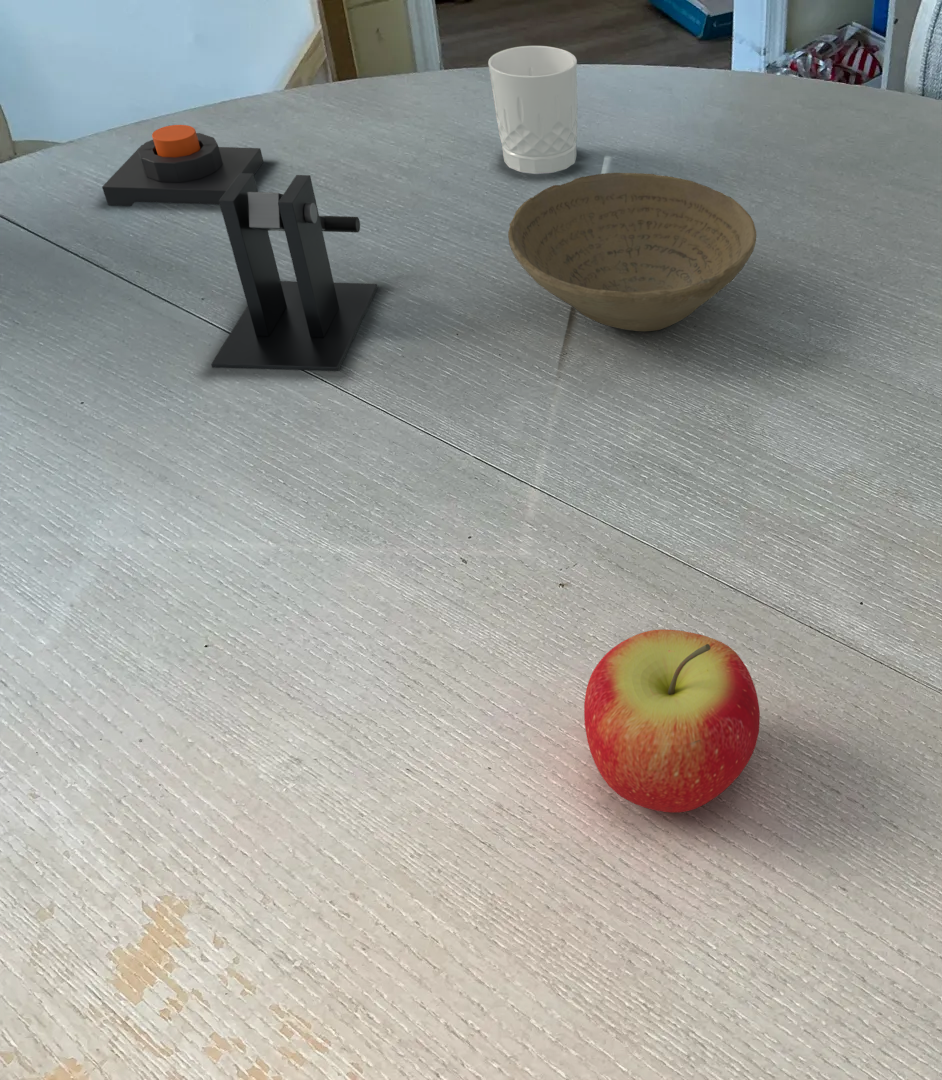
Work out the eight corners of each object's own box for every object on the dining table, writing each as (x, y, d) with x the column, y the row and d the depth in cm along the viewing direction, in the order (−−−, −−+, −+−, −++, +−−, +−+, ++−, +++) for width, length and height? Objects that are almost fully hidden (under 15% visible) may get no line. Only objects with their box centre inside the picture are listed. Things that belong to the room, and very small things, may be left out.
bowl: (785, 364, 87) (791, 267, 82) (539, 399, 83) (529, 300, 78) (715, 249, 101) (718, 159, 95) (500, 274, 96) (490, 182, 91)
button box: (109, 210, 104) (94, 166, 101) (148, 167, 110) (135, 125, 108) (234, 214, 104) (222, 170, 101) (266, 170, 110) (255, 128, 108)
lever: (284, 238, 93) (283, 207, 92) (360, 240, 93) (360, 209, 92) (220, 226, 81) (219, 190, 81) (307, 229, 81) (306, 193, 81)
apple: (731, 865, 55) (738, 728, 49) (562, 822, 57) (546, 683, 50) (773, 733, 61) (784, 595, 55) (619, 697, 63) (611, 559, 56)
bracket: (266, 293, 93) (229, 149, 86) (379, 297, 93) (352, 153, 86) (215, 377, 84) (167, 225, 77) (340, 381, 84) (305, 229, 77)
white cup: (486, 179, 110) (474, 70, 103) (517, 146, 116) (507, 41, 109) (566, 189, 109) (559, 80, 102) (593, 155, 114) (588, 50, 108)
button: (151, 159, 103) (145, 140, 102) (166, 143, 106) (160, 123, 105) (192, 160, 103) (186, 141, 102) (206, 144, 106) (201, 125, 105)
